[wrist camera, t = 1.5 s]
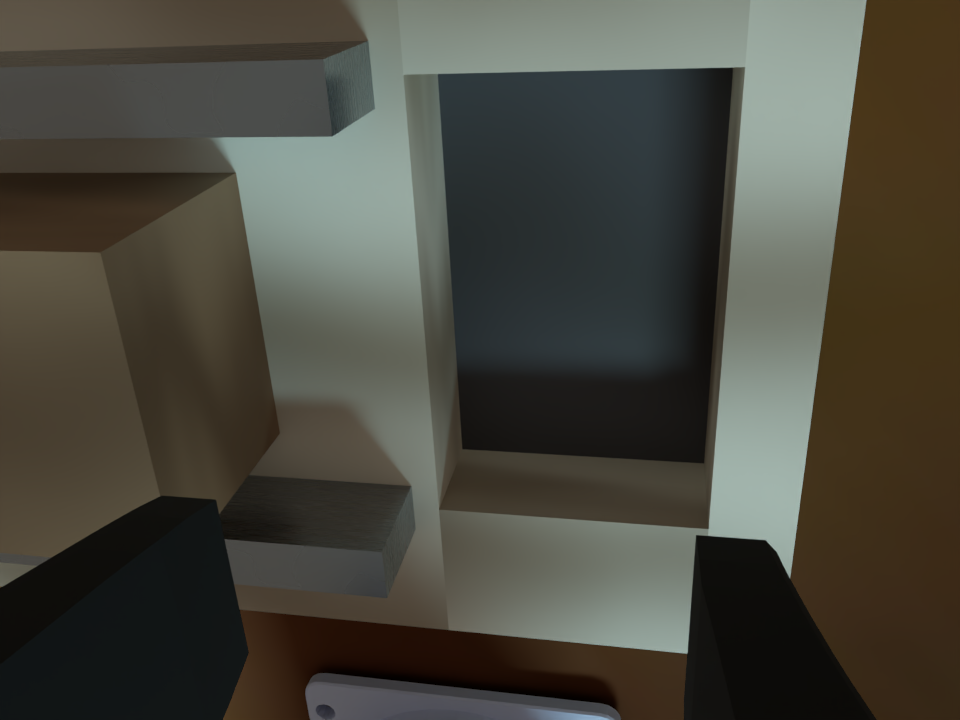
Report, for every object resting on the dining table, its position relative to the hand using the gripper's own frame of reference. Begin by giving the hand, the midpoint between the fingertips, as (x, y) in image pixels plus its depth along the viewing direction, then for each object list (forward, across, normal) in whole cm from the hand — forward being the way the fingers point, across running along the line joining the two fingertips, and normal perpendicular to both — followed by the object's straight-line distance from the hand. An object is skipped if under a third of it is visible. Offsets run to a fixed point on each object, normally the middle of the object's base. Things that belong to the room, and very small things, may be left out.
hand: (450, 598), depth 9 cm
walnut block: (+7, +8, 0) cm, 10 cm away
